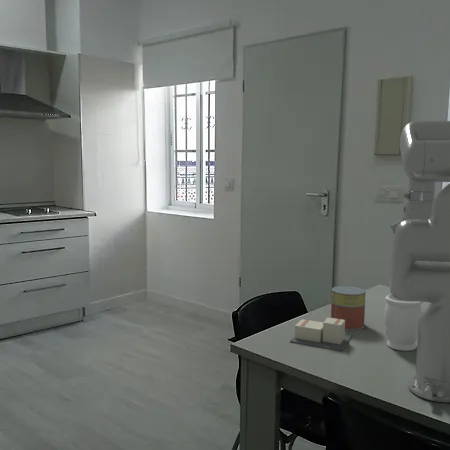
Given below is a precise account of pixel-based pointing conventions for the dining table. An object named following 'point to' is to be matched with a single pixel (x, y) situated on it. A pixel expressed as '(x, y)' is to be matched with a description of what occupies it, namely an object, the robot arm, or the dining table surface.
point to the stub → (333, 330)
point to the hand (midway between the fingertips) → (417, 252)
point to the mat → (324, 343)
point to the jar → (402, 323)
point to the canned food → (348, 306)
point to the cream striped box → (309, 330)
